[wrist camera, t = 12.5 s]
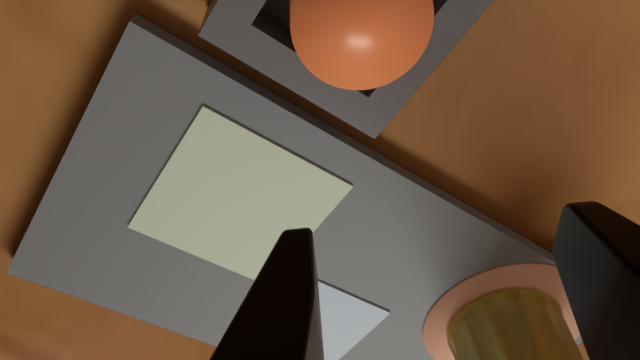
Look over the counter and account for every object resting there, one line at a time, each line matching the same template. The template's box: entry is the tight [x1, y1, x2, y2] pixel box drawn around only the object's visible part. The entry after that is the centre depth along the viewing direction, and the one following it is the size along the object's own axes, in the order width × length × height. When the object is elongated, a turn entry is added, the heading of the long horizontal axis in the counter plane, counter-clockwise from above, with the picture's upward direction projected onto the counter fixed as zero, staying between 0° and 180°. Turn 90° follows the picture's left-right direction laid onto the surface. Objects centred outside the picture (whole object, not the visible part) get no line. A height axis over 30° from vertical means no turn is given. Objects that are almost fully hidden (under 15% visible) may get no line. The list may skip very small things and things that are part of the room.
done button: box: [289, 0, 434, 90], centre depth 16 cm, size 4×4×2 cm
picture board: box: [6, 13, 582, 360], centre depth 27 cm, size 28×14×1 cm, turn 55°
